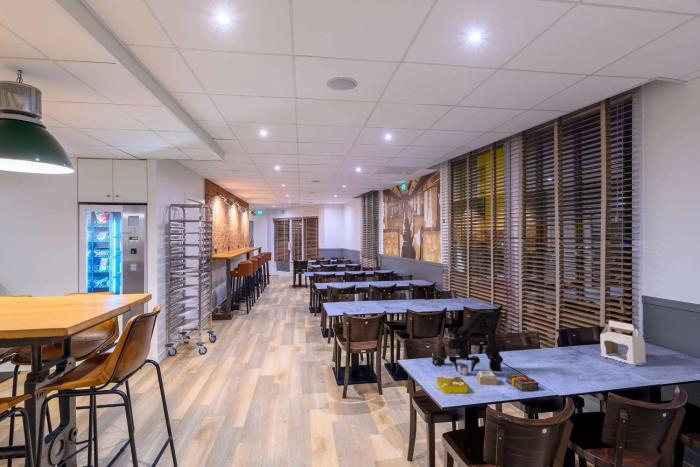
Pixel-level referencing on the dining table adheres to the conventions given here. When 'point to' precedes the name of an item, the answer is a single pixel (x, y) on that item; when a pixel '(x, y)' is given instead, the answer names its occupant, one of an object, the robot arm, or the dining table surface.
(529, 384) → the decorative book
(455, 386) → the element tile
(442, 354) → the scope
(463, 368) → the lens
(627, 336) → the gable box
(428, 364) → the dining table surface
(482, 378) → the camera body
